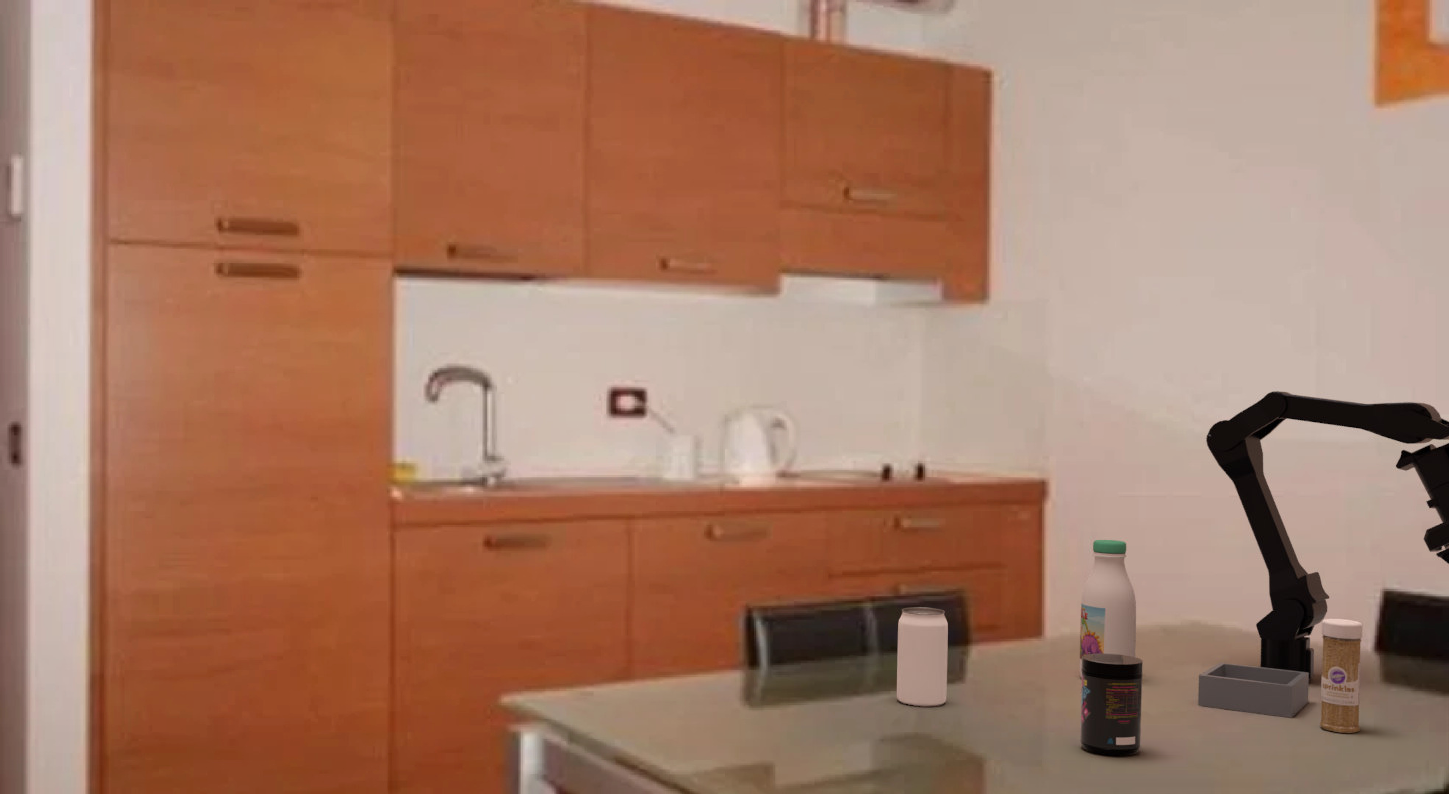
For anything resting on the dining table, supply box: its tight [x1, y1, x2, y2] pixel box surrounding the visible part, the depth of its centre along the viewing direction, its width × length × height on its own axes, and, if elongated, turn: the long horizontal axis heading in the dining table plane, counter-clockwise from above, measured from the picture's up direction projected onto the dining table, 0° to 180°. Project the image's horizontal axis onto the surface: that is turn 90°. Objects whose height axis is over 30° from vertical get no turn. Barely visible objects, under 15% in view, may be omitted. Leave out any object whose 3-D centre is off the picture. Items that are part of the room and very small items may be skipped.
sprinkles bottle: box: [1319, 618, 1363, 734], centre depth 170 cm, size 5×5×14 cm
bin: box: [1197, 661, 1310, 719], centre depth 184 cm, size 12×12×4 cm
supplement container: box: [1079, 654, 1143, 757], centre depth 157 cm, size 7×7×10 cm
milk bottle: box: [1079, 539, 1137, 679], centre depth 199 cm, size 8×8×20 cm
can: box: [896, 606, 949, 708], centre depth 181 cm, size 6×6×12 cm
